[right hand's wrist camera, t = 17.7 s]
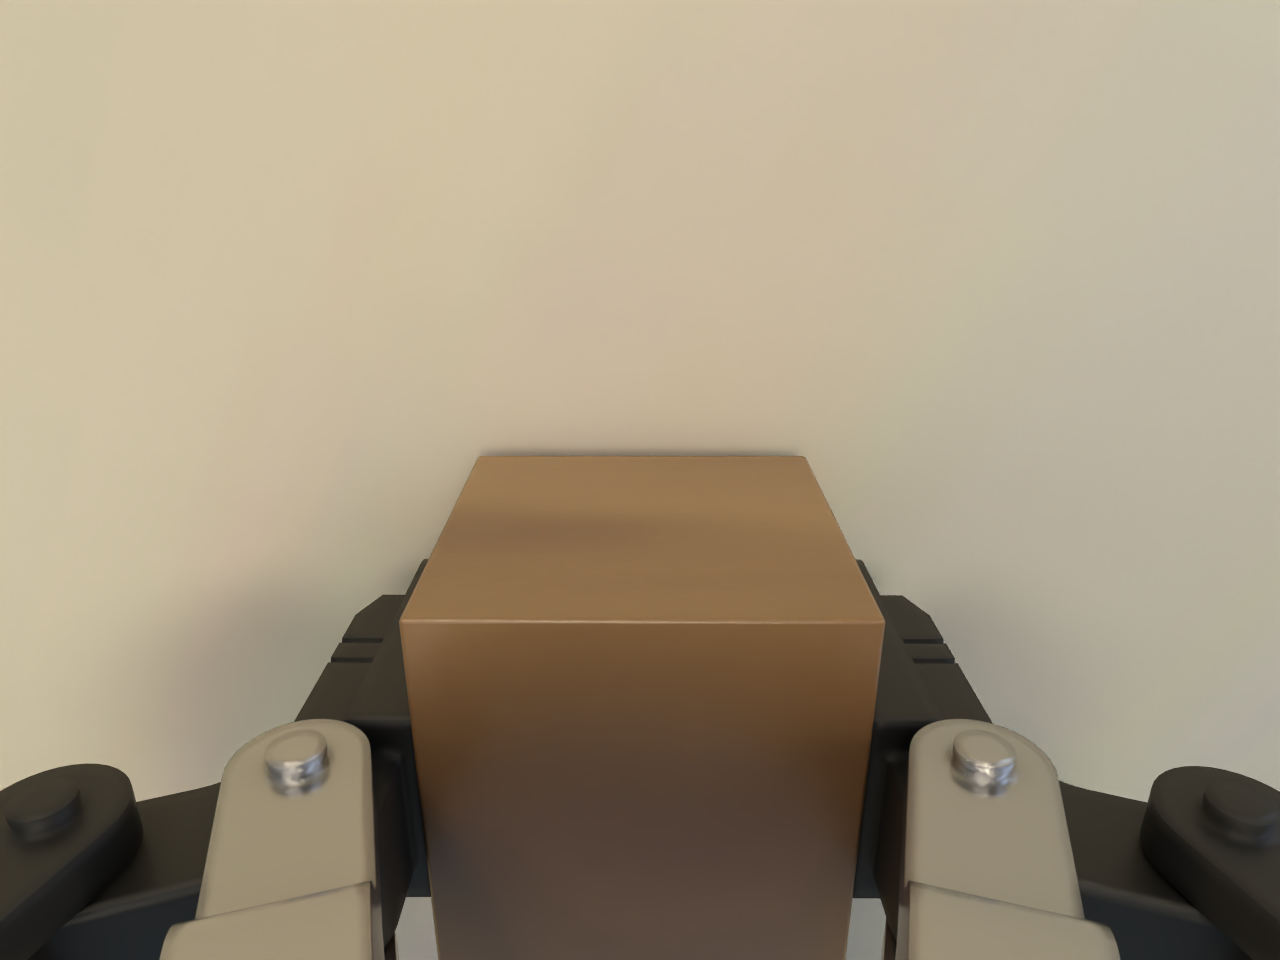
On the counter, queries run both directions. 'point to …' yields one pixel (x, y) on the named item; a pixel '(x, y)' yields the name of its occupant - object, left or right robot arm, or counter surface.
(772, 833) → the brown wooden cube
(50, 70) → the counter surface
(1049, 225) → the counter surface
